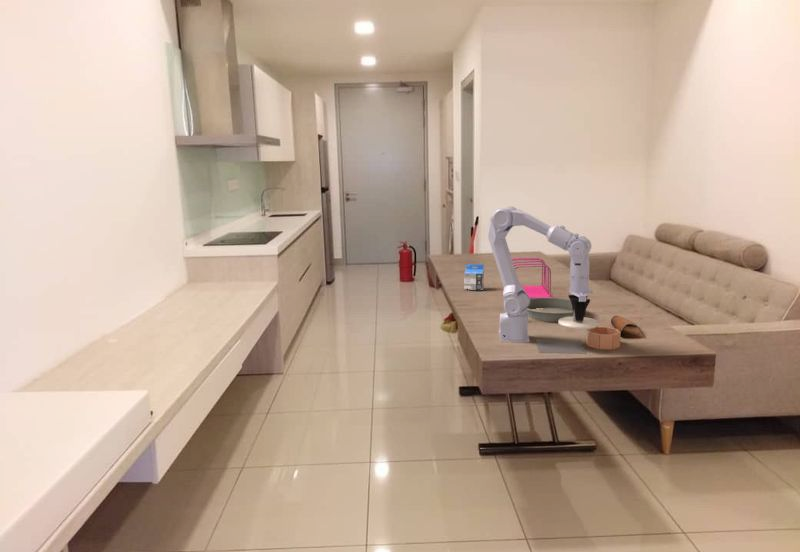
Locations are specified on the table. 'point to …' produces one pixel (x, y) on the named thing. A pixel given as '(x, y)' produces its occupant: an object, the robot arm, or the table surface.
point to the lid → (578, 323)
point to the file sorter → (544, 288)
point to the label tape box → (474, 277)
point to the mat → (560, 346)
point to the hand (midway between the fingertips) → (578, 319)
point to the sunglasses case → (626, 328)
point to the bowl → (603, 338)
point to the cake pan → (550, 309)
